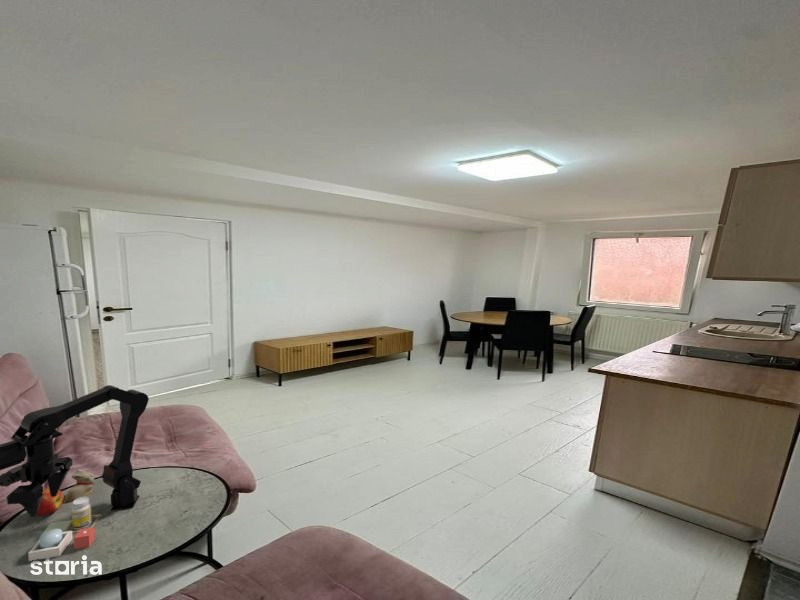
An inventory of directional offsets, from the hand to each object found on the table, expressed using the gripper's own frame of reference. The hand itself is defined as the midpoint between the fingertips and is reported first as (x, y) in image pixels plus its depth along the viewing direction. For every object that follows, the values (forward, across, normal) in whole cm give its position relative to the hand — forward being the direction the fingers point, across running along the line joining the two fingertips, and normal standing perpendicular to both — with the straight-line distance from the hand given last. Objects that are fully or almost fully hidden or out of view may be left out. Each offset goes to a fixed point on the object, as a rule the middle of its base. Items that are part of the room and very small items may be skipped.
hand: (44, 506), depth 108 cm
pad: (+12, -7, -1) cm, 14 cm away
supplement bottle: (+12, -7, +6) cm, 15 cm away
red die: (+12, +2, +10) cm, 16 cm away
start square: (+12, -7, +6) cm, 15 cm away
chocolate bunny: (+13, -24, -3) cm, 27 cm away
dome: (+11, +2, +2) cm, 11 cm away
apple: (+12, -16, -8) cm, 22 cm away
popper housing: (+12, +2, +2) cm, 13 cm away
